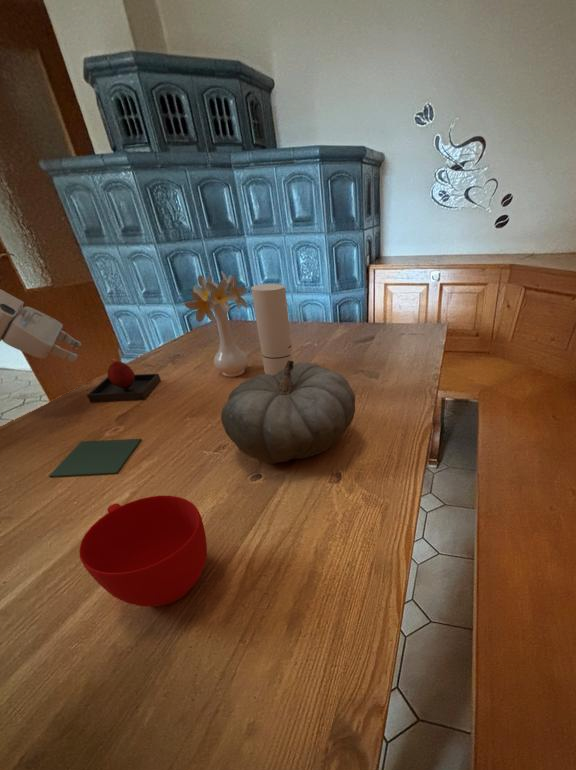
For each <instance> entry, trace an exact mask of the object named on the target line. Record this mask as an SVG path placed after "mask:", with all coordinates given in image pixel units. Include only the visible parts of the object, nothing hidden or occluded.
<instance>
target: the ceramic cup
mask: <svg viewBox="0 0 576 770" xmlns="http://www.w3.org/2000/svg"><path fill="white" fill-rule="evenodd" d="M206 535H207V534H206V530H205V526H204V522H203V519H202V515H201V514H200V510H199V509H198V507H197V506H196V505H195V504H194V503H193V502H192V501H189V500H188V499H186V498H183V497H180V496H177V495H176V496H174V495H154V496H148V497H143V498H139V499H135V500H132V501H129V502H126V503H125V504H122V505H121V504H120V503H112V504H110V505H109V506H108V507H107V513H106V514H105V515H103V516H102V517H100V518H99V519H98V520H97V521H96V522H95V523H94V524H92V525H91V526H90V528H89V529H88V530H87V531H86V532H85V534H84V536H83V537H82V540H81V541H80V545H79V549H78V552H79V559H80V561H81V563H82V565H83V567H84V568H85V571H87V572H88V574H89V575H90V577H92V578H93V580H94V581H95V582H96V583H97V584H98V585H99V586H100V587H102V588H103V589H104V590H105V591H106V592H107V593H108V594H110V595H111V596H112V597H114V598H116V599H118V600H119V601H122V602H124V603H126V604H130V605H134V606H137V607H138V606H139V607H158V606H166V605H170V604H172V603H175V602H176V601H179V600H180V599H182V598H183V597H185V596H186V595H187V594H188V593H189V592H190V591H191V589H193V587H194V586H195V584H196V583H197V582H198V580H199V578H200V577H201V575H202V572H203V571H204V568H205V565H206V559H207V553H208V544H207V536H206Z"/></svg>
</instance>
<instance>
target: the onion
mask: <svg viewBox="0 0 576 770" xmlns="http://www.w3.org/2000/svg"><path fill="white" fill-rule="evenodd" d="M135 375H136V374H135V372H134V370H133V369H132V368H131V367H130V366H129V365H128V364H126V363H124V362H122V361H119V360H117V359H116V358H112V359H111V364H110V365H109V367H108V368H107V377H108V378H109V380H110V382H111V383H113V384H114V385H116V386H118V387H120V388H122V389H125V390H127V389H128V388H129V387H130V386H131V385H132V384H133V382H134V380H135Z"/></svg>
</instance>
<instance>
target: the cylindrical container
mask: <svg viewBox="0 0 576 770" xmlns="http://www.w3.org/2000/svg"><path fill="white" fill-rule="evenodd" d="M250 290H251V291H250V292H251V297H252V302H253V309H254V314H255V321H256V327H257V333H258V334H257V335H258V340H259V343H260V344H259V347H260V351H261V358H262V364H263V370H264V374H269V375H272V376H273V375H276V374H278V373H279V372H280V371H281V370H283V369H285V367H286V364H287V361H289V360H290V361H294V354H293V344H292V335H291V328H290V319H289V310H288V301H287V300H288V299H287V292H286V285H284V284H281V283H261V284H256V285H253V286H251V287H250ZM293 364H295V362H294V363H293Z"/></svg>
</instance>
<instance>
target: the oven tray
mask: <svg viewBox="0 0 576 770" xmlns="http://www.w3.org/2000/svg"><path fill="white" fill-rule="evenodd" d="M134 375H135V380H134V382H133V384H132V385H131V386H130V387H129V388H128V389H127V390H125V389H122V388H120V387H118V386H116V385H114V384H113V383H111V382H110V380H109V378H108V376H106V377H105V378H104V379H103V380H101V382H99V383H98V384H97V385H96V386H95V387H94V388H93V389H91V391H89V392H88V393H87V394H86V397H87V398H88V401H89V402H90V403H104V402H105V403H107V402H127V401H129V402H130V401H146V399H147V398H148V397H149V396H150V394H151V393H152V392H153V391H154V390H155V389H156V387H157V386H158V385H159V384H160V382H162V379H161V376H160V374H159V373H143V374H142V373H141V374H140V373H139V374H134Z"/></svg>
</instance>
